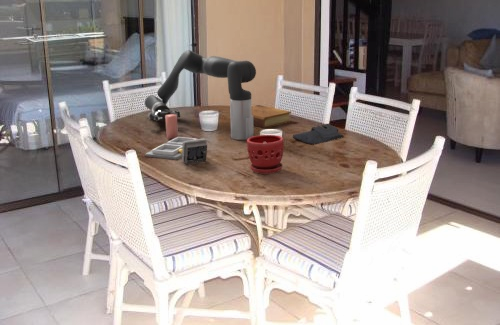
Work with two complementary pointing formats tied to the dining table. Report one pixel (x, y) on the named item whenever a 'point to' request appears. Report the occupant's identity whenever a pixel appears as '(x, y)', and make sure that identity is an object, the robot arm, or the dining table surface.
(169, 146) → the grey compartment tray
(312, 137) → the dark slate chunk
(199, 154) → the electrical switch
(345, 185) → the dining table surface
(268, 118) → the diary
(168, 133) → the pink cylinder
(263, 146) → the plant pot
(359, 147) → the dining table surface
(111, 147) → the dining table surface
